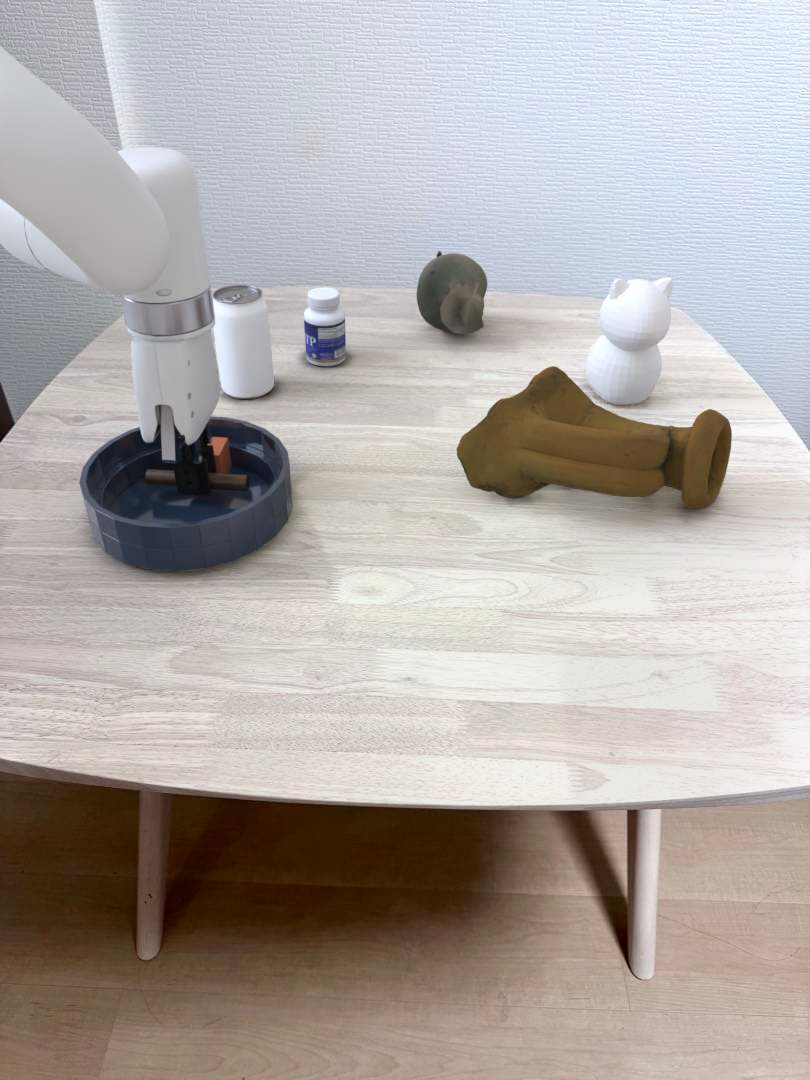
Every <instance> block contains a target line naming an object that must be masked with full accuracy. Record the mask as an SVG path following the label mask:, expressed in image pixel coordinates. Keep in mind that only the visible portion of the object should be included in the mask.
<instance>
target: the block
mask: <svg viewBox="0 0 810 1080" xmlns="http://www.w3.org/2000/svg"><path fill="white" fill-rule="evenodd" d="M207 445H213V449H214V456H215V463H216V469H217V473H223V474H228V473H229V471H230V469H231V467H232V463H231V456H230V448H229V440H228V438H224V437H213V439H212V443H211V444H207Z"/></svg>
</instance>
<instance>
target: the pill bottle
mask: <svg viewBox="0 0 810 1080" xmlns="http://www.w3.org/2000/svg"><path fill="white" fill-rule="evenodd" d="M340 301H341V299H340V292H339V290H338V289H336V288H333V287H328V286H327V287H326V286H324V287H323V286H322V287H321V286H320V287H315V288H312V289H310V290H309V291H307V305H308V307H306V309H304V312H303V327H304V328H303V329H304V343H305V345H304V346H305V358H306V360H307V361H308V362H309V363H310V364H312V365H314V366H319V367H334V366H337V365H340V364H342V363H344V362H345V361H346V358H347V342H346V340H347V339H346V313H345V310H344V309H343V308H342V307H341V306H340Z"/></svg>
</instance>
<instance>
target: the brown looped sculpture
mask: <svg viewBox="0 0 810 1080" xmlns="http://www.w3.org/2000/svg"><path fill="white" fill-rule="evenodd" d="M486 413H487V414H486V415H485V417H484V418H483V419H481V420H480V421H479V422H478V423H477V424H476V425H474V426H473V427H472V428H471V429H470V430H469V431H467V432H466V433H464V434H463V435H462V436H461V438H460V440H459V443H458V445H457V447H456V457H457V460H458V461H459V462H460V464H461V467H462V469H463V472H464V474H465V477H466V480H467V481H468V483H469V486H470V487H472V488H473V489H477V490H481V491H483V492H484V491H485V492H488V493H491V492H493V493H495V494H496V495H497V496H500V497H503V498H506V499H513V500H515V499H522V498H525V497H528V496H530V495H532V494H534V493H535V492H537V491H539V490H541V489H543V488H546V487H547V486H550V485H555V486H561V487H567V488H572V489H577V490H581V491H585V492H592V493H597V494H602V495H608V496H614V497H620V498H631V499H632V498H634V499H635V498H649V497H652V496H653V495H655V494H657V493H658V492H659V491H660V490H661V489H663V488H664V487H665V488H671V489H673V490H677V491H679V492H681V501H682V502H683V504H684V505H685V506H686V508H689V509H691V510H697V511H698V510H703V509H707V508H708V507H711V506H712V505H713V504H714V503H715V502H716V501H717V498H718V496H719V494H720V492H721V489H722V487H723V483H724V481H725V478H726V475H727V471H728V470H727V469H728V467H729V460H730V456H731V451H732V442H733V441H732V438H733V437H732V436H733V434H732V433H733V431H732V427H731V423H730V421H729V419H728V418H727V417H726V416H725V415H724V414H723V413H720V412H719V411H717V410H715V409H710V408H709V409H706V410H703V411H702V412H701V413H699V414H698V415H697V416H696V418H695V419H694V421H693V424H692V426H684V427H683V426H674V425H669V426H668V425H661V424H652V423H646V422H641V421H637V420H633V419H630V418H627V417H623V416H621V415H618V414H616V413H614V412H613V411H610V410H608V409H605V408H604V407H601V406H600V405H598V404H596V403H595V402H594V401H593V400H592V399H591V398H590V397H589V396H588V395H587V394H586V393H585V391H584V390H582V389H581V388H580V387H579V385H578V384H576V383H575V382H574V380H572V378H571V377H569V376H568V374H567V373H566V372H565V371H563V370H562V369H561V368H560V367H558V366H556V365H555V366H554V365H553V366H552V365H550V366H548V367H546V368H544V369H542V370H541V371H540V372H539V373H537V374H535V375H534V376H533V377H532V378H531V379H530V381H529V383H528V384H527V386H526V387H525V388H524V389H523V390H522V391H520V392H518V393H517V394H515V395H512V396H510V397H505V398H500V399H499V400H497V401H496V402H495V403H494V404H493V405H492V406H491V407H490V408H489V409H488V411H487V412H486Z"/></svg>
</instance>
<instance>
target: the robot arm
mask: <svg viewBox="0 0 810 1080" xmlns="http://www.w3.org/2000/svg"><path fill="white" fill-rule="evenodd" d="M196 174H197V173H196V169H195V166H194V164H193V162H192V161H191V159H190V158H189V157H188V156H187V155H185V154H184V153H183V152H181V151H179V150H175V149H172V148H168V147H159V146H142V147H141V146H139V147H130V148H123V149H120V150H116V148H114V146H113V145H112V144H111V143H110V142H109V140H107V138H105V136H104V135H103V134H102V133H101V132H100V131H99V130H98V129H97V128H96V127H95V126H94V125H93V124H92V123H91V122H90V120H88V119H87V118H86V117H85V116H84V115H83V114H82V113H80V112H79V110H77V109H76V108H75V107H74V106H73V105H71V104H70V103H69V102H68V101H67V100H66V99H65V98H64V97H62V96H61V95H60V94H59V93H57V91H55V90H54V89H52V88H51V87H50V86H49V85H47V83H45V82H44V81H42V80H41V79H40V78H39V77H38V76H36V75H35V74H34V73H33V72H32V71H30V70H29V69H28V68H27V67H25V66H24V65H23V64H22V63H21V62H19V60H17V59H16V58H15V57H14V56H13V55H12V54H10V53H9V52H8V51H7V50H6V49H5V48H3V47H2V46H1V45H0V245H1V246H2V247H3V248H4V249H5V250H6V252H8V253H9V254H10V255H12V256H13V257H14V258H16V259H17V260H19V261H21V262H23V263H25V264H27V265H29V266H32V267H34V268H36V269H39V270H41V271H44V272H47V273H50V274H52V275H55V276H58V277H60V278H65V279H67V280H70V281H72V282H74V283H78V284H80V285H82V286H85V287H87V288H90V289H92V290H95V291H98V292H100V293H103V294H105V295H111V296H119V298H120V303H121V309H122V313H123V318H124V323H125V327H126V328H125V329H126V331H127V333H128V334H129V335H131V339H130V360H131V373H132V383H133V389H134V397H135V405H136V411H137V417H138V424H139V427H140V430H141V435H142V438H143V440H144V441H145V442H146V443H151V442H154V440H155V439H156V437H157V435H158V434H159V432H160V431H161V444H162V461H163V463H172V464H173V469H174V475H175V480H176V486H177V491H178V493H180V494H186V495H202V496H208V495H209V494H210V492H211V486H210V479H209V473H217V469H216V463H215V456H214V449H213V445H207V444H211V443H212V439H213V436H212V428H211V421H210V417H211V416H212V415H213V413H214V411H215V409H216V407H217V406H218V404H219V400H220V394H221V388H220V387H221V385H220V375H219V367H218V360H217V354H216V348H215V344H214V339H213V334H212V329H213V326H214V325H215V314H214V307H213V300H214V298H213V292H212V285H211V276H210V269H209V262H208V261H209V260H208V253H207V246H206V239H205V237H206V236H205V231H204V222H203V215H202V209H201V208H202V207H201V201H200V193H199V185H198V184H199V183H198V179H197V175H196ZM179 442H186V444H180V445H179Z"/></svg>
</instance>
